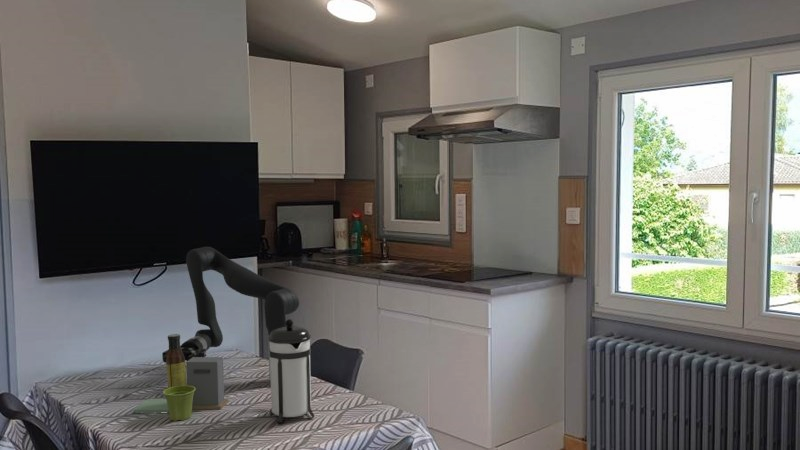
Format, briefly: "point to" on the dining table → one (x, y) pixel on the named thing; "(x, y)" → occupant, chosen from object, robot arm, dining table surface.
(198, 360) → the charcoal unit
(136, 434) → the dining table surface
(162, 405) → the green mat
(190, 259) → the robot arm
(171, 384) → the sauce bottle
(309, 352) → the coffee press
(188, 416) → the plant pot
